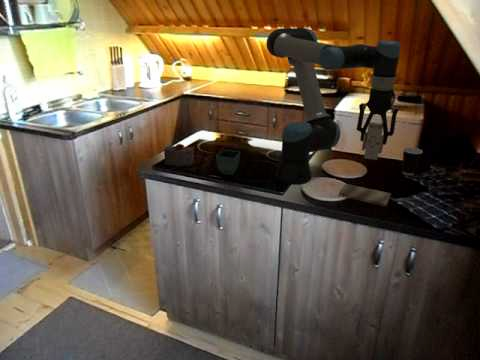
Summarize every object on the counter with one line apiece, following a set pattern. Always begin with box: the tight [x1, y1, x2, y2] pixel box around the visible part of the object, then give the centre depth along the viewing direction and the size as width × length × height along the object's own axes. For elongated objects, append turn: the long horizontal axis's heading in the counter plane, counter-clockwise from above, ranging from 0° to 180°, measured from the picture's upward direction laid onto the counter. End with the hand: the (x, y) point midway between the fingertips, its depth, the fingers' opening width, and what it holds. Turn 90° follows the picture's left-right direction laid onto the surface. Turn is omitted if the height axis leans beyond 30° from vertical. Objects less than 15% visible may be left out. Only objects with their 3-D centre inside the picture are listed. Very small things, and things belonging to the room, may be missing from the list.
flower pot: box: [215, 149, 241, 176], centre depth 169 cm, size 9×9×9 cm
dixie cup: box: [401, 146, 423, 176], centre depth 170 cm, size 8×8×11 cm
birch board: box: [338, 183, 392, 207], centre depth 151 cm, size 18×10×1 cm, turn 61°
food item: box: [163, 143, 195, 168], centre depth 177 cm, size 14×8×10 cm, turn 83°
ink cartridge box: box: [363, 119, 383, 161], centre depth 141 cm, size 9×5×15 cm, turn 161°
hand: (371, 150), depth 143 cm, fingers closed on ink cartridge box, 5 cm apart
